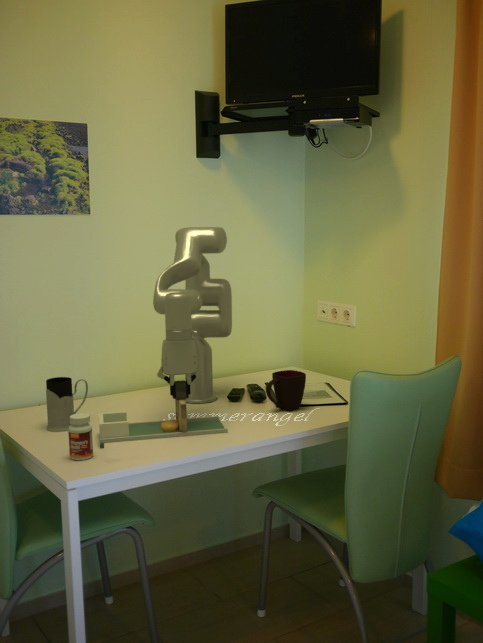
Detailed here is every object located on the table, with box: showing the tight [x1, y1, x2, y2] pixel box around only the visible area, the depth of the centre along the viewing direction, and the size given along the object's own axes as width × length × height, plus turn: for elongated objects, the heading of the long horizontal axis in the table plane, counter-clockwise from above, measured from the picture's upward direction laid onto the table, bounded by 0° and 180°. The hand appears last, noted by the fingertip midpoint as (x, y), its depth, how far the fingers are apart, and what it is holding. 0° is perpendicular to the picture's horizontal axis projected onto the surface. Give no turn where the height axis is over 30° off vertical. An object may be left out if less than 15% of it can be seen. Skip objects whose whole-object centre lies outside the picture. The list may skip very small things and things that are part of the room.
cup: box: [265, 369, 307, 412], centre depth 218 cm, size 10×14×12 cm
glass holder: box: [45, 376, 89, 433], centre depth 204 cm, size 9×14×15 cm, turn 136°
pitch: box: [98, 410, 229, 449], centre depth 193 cm, size 14×36×6 cm, turn 103°
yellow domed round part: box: [161, 421, 179, 432], centre depth 194 cm, size 5×5×2 cm
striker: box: [174, 379, 188, 432], centre depth 194 cm, size 14×3×14 cm, turn 13°
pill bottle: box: [67, 412, 94, 461], centre depth 176 cm, size 6×6×11 cm
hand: (180, 396), depth 193 cm, fingers closed on striker, 3 cm apart
